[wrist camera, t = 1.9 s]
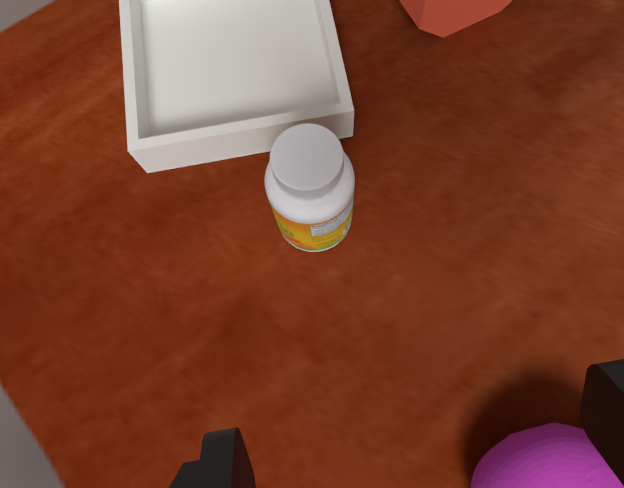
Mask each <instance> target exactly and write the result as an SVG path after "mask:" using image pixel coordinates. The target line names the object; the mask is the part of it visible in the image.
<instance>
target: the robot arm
mask: <svg viewBox="0 0 624 488" xmlns="http://www.w3.org/2000/svg"><path fill="white" fill-rule="evenodd" d="M580 417H581V422H582V426H583V428H584V431H585V433H586V435H587V437H588V439H589V440H590V441H591V443H592V444H593V446H594V447H595V448H596V450H597V451H598V452H599V454H600V455H601V456H602V458H603V459H604V460H605V462H606V463H607V464H608V466H609V467H610V469H611V470H612V471H613V473H614V474H615V475H616V477H617V478H618V479H619V481H620V482H621V483H622V485H623V486H624V359H621V360H615V361H610V362H604V363H598V364H593V365H590V366H589V367H588V369H587V372H586V378H585V384H584V391H583V397H582V403H581V409H580ZM169 488H256V485H255V478H254V473H253V469H252V466H251V463H250V460H249V456H248V453H247V450H246V447H245V444H244V441H243V438H242V435H241V432H240V430H239V428H232V429H226V430H221V431H215V432H209V433H205V435H204V437H203V441H202V448H201V455H200V460H197V461H192V462H186V463H183V465H182V466H181V468H180V470H179V471H178V473H177V475H176V476H175V478H174V480H173V482H172V483H171V485H170V487H169Z"/></svg>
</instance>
